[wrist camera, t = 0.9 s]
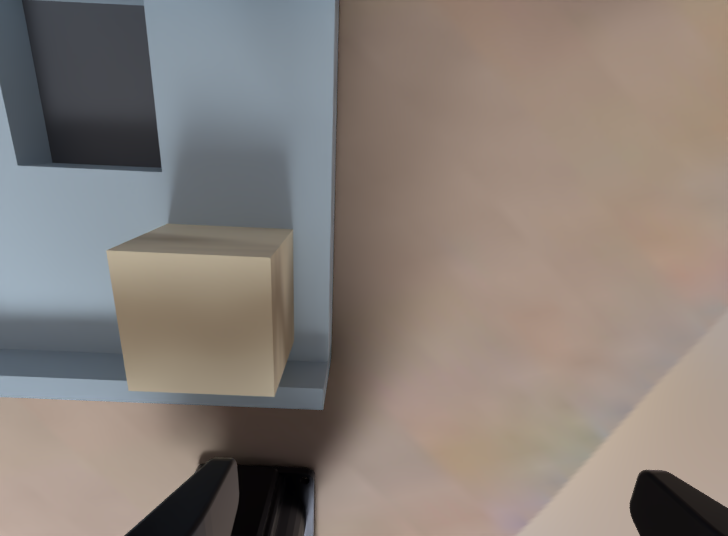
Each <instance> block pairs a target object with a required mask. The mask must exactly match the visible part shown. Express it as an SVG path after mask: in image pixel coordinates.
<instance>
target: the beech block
mask: <svg viewBox="0 0 728 536" xmlns="http://www.w3.org/2000/svg"><path fill="white" fill-rule="evenodd" d="M106 253H107V259H108V265H109V272H110V278H111V284H112V290H113V297H114V303H115V309H116V316H117V322H118V328H119V334H120V341H121V347H122V353H123V359H124V366H125V372H126V378H127V385H128V391H143V392H168V393H192V394H217V395H241V396H266V397H275V394H276V391H277V388H278V385H279V383H280V380H281V377H282V374H283V371H284V368H285V365H286V363H287V360H288V357H289V354H290V351H291V348H292V346H293V343H294V276H293V229H277V228H255V227H232V226H210V225H188V224H166V225H163V226H161V227H159V228H156V229H154V230H152V231H150V232H147V233H145V234H143V235H140V236H138V237H136V238H134V239H131V240H129V241H127V242H124V243H122V244H120V245H118V246H115V247H113V248H111V249H108V250H106Z"/></svg>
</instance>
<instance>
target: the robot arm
mask: <svg viewBox="0 0 728 536" xmlns="http://www.w3.org/2000/svg"><path fill="white" fill-rule="evenodd" d="M303 477H306V478H307V479H305V478H303ZM314 503H315V474H314V472H313V471H312V470H311V469H309V468H299V467H273V466H247V465H237V463H236V460H235V459H233V458H213V459H211V460H209V461H208V462H207V463H206V464H201V465H199V466H198V468H197V469H196V471H195V473H194V474H193V475H192V476H191V477H190V478H189V479H188V480H187V481H186V482H184V483H183V484H182V485H181V486H180V487H179V488H178V489H177V490H175V491H174V492H173V493H172V494H171V495H170V496H169V497H168V498H166V499H165V500H164V501H163V502H162V503H161V504H160V505H158V506H157V507H156V508H155V509H154V510H153V511H152V512H151V513H149V514H148V515H147V516H146V517H145V518H144V519H143V520H142V521H140V522H139V523H138V524H137V525H136V526H135V527H134V528H133V529H131V530H130V531H129V532H128V533H127V534H126V535H125V536H314ZM630 513H631V517H632V519H633V522H634V524H635V526H636V528H637V530H638V532H639V534H640V536H728V508H727V507H725V506H723V505H722V504H720V503H718V502H717V501H715V500H713V499H712V498H710V497H709V496H707V495H705V494H704V493H702V492H700V491H699V490H697V489H695V488H693V487H692V486H690V485H689V484H687V483H686V482H684V481H682V480H681V479H679V478H677V477H675V476H674V475H672V474H671V473H669V472H667V471H662V470H643V471H641V472H640V473H639V475H638V478H637V481H636V484H635V487H634V491H633V494H632V497H631V500H630Z"/></svg>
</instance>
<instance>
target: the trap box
mask: <svg viewBox="0 0 728 536" xmlns="http://www.w3.org/2000/svg"><path fill="white" fill-rule="evenodd" d="M338 28H339V0H0V397H14V398H39V399H64V400H89V401H114V402H138V403H163V404H188V405H213V406H237V407H262V408H287V409H312V410H323V408H324V401H325V395H326V388H327V382H328V376H329V369H330V363H331V343H332V298H333V253H334V208H335V163H336V118H337V73H338ZM166 224H188V225H210V226H232V227H255V228H277V229H293V276H294V343H293V346H292V348H291V351H290V354H289V357H288V360H287V363H286V365H285V368H284V371H283V374H282V377H281V380H280V383H279V385H278V388H277V391H276V394H275V397H266V396H241V395H217V394H192V393H168V392H143V391H128V385H127V378H126V372H125V366H124V359H123V353H122V347H121V341H120V334H119V328H118V322H117V316H116V309H115V303H114V297H113V290H112V284H111V278H110V272H109V265H108V259H107V253H106V250H108V249H111V248H113V247H115V246H118V245H120V244H122V243H124V242H127V241H129V240H131V239H134V238H136V237H138V236H140V235H143V234H145V233H147V232H150V231H152V230H154V229H156V228H159V227H161V226H163V225H166Z"/></svg>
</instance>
